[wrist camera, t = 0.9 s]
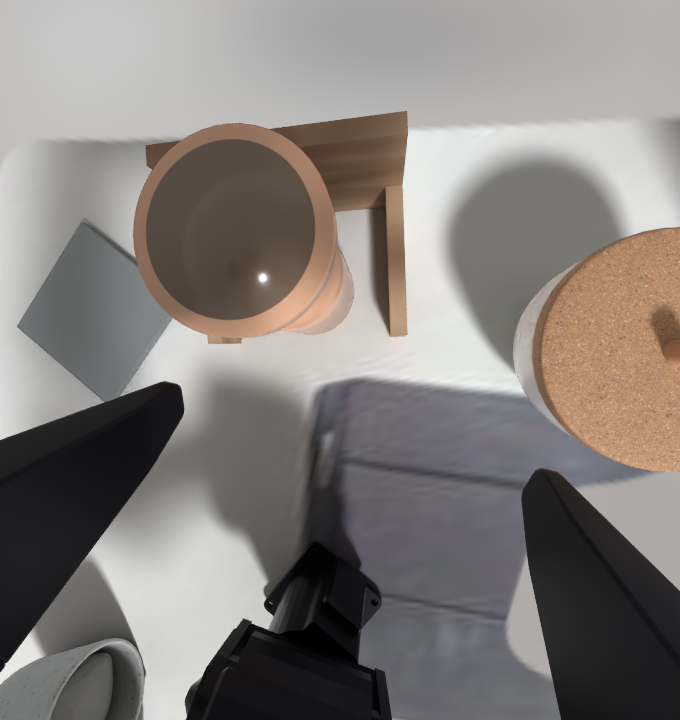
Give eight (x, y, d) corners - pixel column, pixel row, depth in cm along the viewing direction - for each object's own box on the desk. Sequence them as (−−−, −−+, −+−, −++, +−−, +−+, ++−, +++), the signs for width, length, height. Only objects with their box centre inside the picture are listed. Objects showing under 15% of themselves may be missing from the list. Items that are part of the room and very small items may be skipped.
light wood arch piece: (404, 336, 24) (414, 331, 16) (228, 343, 25) (157, 343, 18) (399, 190, 23) (406, 110, 15) (221, 208, 25) (145, 145, 17)
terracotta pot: (320, 361, 25) (247, 379, 12) (244, 301, 25) (93, 255, 12) (381, 280, 24) (377, 202, 11) (302, 220, 24) (206, 77, 11)
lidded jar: (470, 406, 23) (527, 446, 14) (513, 252, 23) (603, 186, 13) (636, 449, 22) (819, 524, 13) (687, 287, 21) (922, 241, 12)
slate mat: (114, 403, 27) (108, 404, 26) (24, 326, 28) (16, 326, 27) (183, 301, 26) (178, 300, 25) (88, 225, 27) (81, 222, 26)
